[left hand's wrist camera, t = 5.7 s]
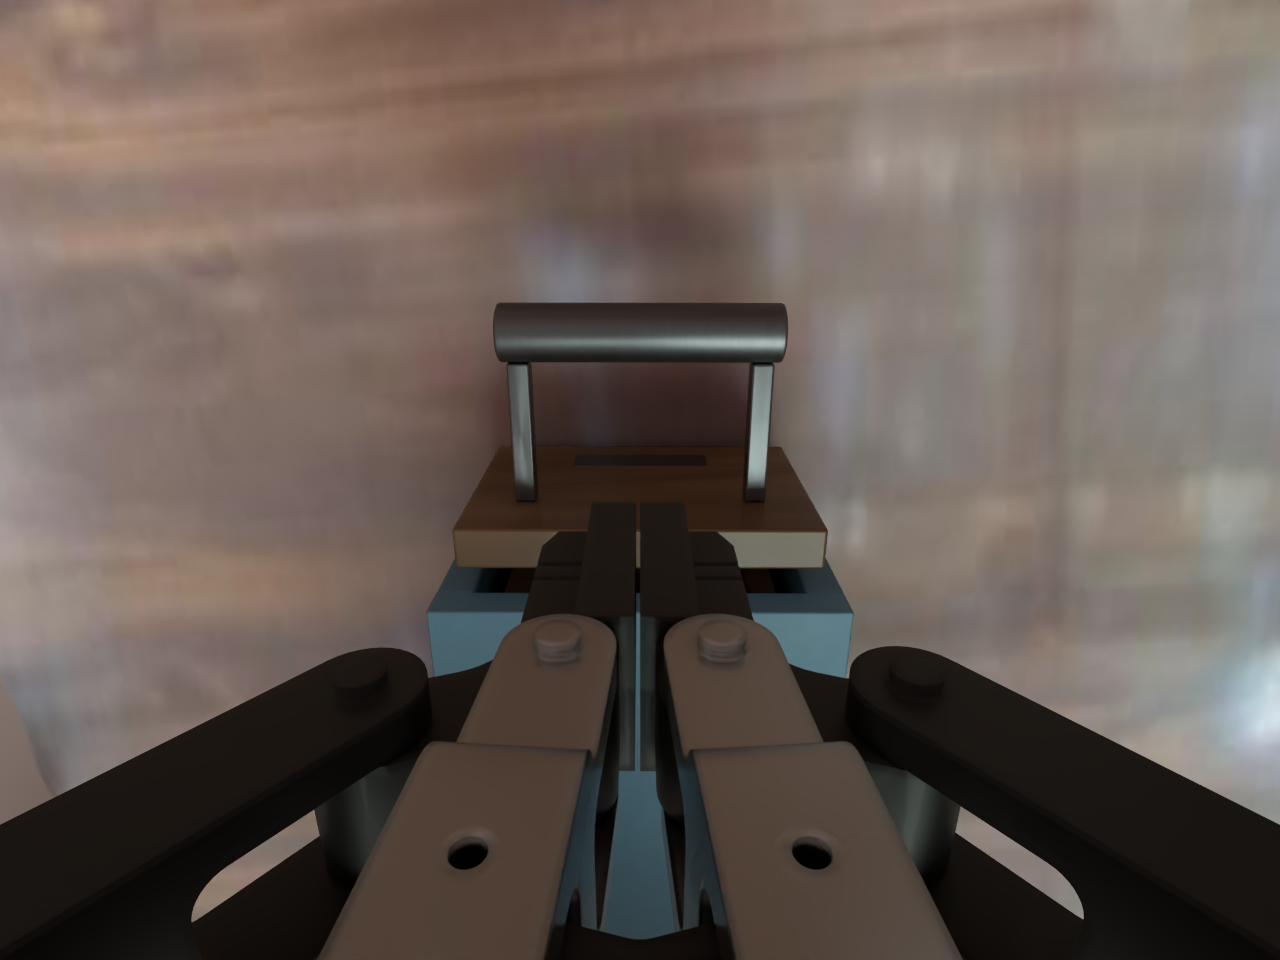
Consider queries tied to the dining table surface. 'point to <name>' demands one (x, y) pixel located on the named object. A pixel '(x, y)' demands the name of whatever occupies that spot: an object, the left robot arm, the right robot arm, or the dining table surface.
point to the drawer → (698, 476)
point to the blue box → (483, 614)
